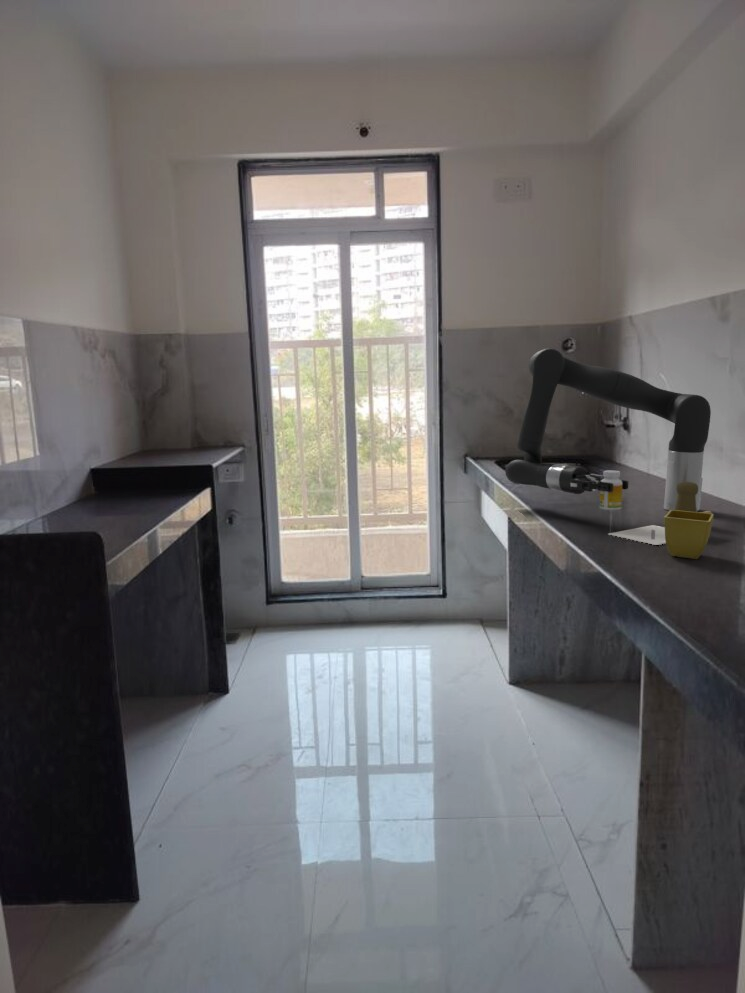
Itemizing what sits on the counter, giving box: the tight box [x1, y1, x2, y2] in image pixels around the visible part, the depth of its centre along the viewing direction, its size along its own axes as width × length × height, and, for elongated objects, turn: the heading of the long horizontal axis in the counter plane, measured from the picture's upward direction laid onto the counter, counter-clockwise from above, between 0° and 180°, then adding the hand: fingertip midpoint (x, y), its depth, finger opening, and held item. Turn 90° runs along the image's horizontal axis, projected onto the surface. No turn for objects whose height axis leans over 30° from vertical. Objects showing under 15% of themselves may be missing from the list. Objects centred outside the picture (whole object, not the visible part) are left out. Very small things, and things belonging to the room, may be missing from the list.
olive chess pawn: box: [675, 482, 698, 512], centre depth 172 cm, size 6×6×11 cm
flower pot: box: [663, 510, 715, 560], centre depth 141 cm, size 9×9×9 cm
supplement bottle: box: [598, 469, 623, 511], centre depth 168 cm, size 5×5×10 cm
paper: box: [607, 524, 666, 546], centre depth 160 cm, size 18×13×1 cm
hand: (619, 486), depth 166 cm, fingers closed on supplement bottle, 5 cm apart
